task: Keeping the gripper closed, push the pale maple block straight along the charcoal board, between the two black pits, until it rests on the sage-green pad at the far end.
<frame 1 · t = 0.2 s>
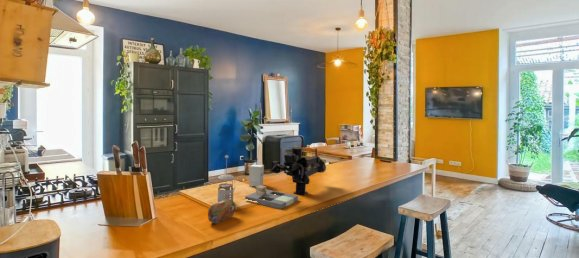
hand: (278, 172, 168), 17 cm above the kitchen island, tool horizontal, fingers open, 9 cm apart
maple block: (261, 193, 178), point 2 cm above the kitchen island, touching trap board
supplement box: (256, 185, 204), on the kitchen island
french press: (226, 203, 167), on the kitchen island
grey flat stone: (221, 220, 145), on the kitchen island
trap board: (271, 200, 175), on the kitchen island
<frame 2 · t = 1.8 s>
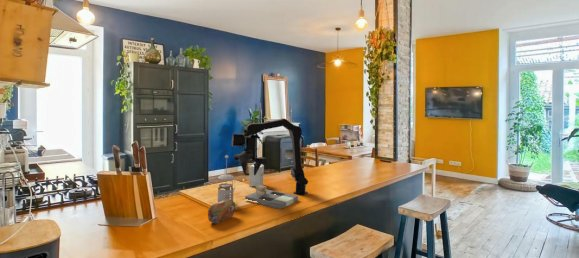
hand: (249, 174, 181), 12 cm above the kitchen island, tool pointing down, fingers open, 7 cm apart
nothing on the kitchen island moved.
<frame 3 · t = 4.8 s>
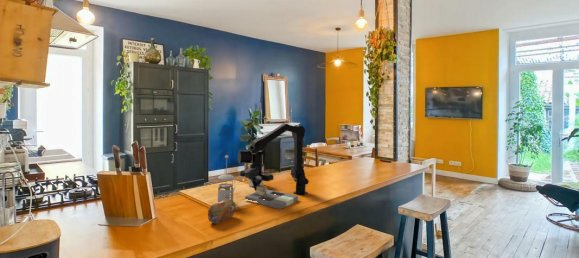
hand: (255, 190, 180), 4 cm above the kitchen island, tool pointing down, fingers closed
maple block: (261, 193, 178), point 3 cm above the kitchen island, touching gripper, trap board
everything else where it was.
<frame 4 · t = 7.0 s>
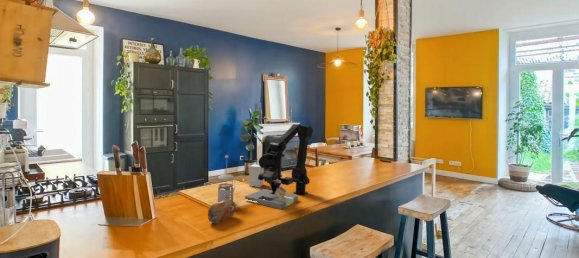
hand: (274, 194, 174), 4 cm above the kitchen island, tool pointing down, fingers closed
maple block: (279, 195, 174), point 3 cm above the kitchen island, tilted 28°, touching gripper
everything else where it was.
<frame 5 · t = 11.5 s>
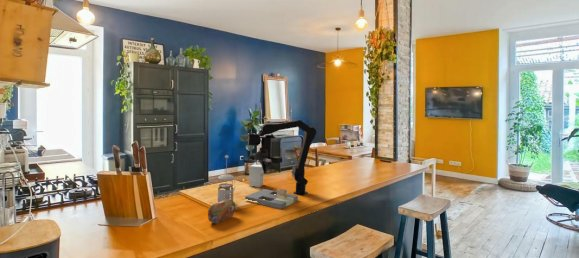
hand: (265, 173, 186), 12 cm above the kitchen island, tool pointing down, fingers closed
maple block: (281, 197, 173), point 2 cm above the kitchen island, touching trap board
everything else where it was.
at the end: maple block 2.3 cm from the target spot on the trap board, point 2.5 cm above the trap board's base; maple block tilted 0°; maple block moved 12.7 cm from its start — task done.
